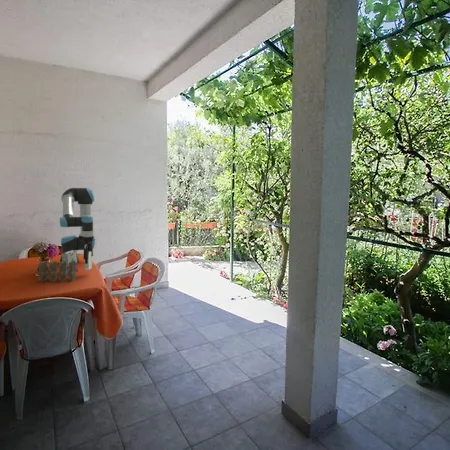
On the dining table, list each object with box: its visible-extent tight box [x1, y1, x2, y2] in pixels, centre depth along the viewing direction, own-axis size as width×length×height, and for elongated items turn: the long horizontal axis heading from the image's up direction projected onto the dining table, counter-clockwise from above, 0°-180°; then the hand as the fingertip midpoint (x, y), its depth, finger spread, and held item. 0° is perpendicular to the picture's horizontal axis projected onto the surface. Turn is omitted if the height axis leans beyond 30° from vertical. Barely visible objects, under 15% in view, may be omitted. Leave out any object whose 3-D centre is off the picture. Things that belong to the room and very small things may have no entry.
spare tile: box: [84, 251, 93, 271], centre depth 235 cm, size 2×7×13 cm, turn 7°
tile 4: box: [68, 261, 77, 282], centre depth 222 cm, size 2×7×13 cm, turn 7°
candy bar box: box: [61, 250, 79, 276], centre depth 240 cm, size 11×5×16 cm, turn 168°
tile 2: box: [48, 260, 58, 283], centre depth 221 cm, size 2×7×13 cm, turn 7°
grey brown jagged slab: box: [58, 261, 68, 282], centre depth 222 cm, size 2×7×13 cm, turn 7°
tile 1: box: [38, 260, 49, 283], centre depth 220 cm, size 2×7×13 cm, turn 6°
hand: (88, 266), depth 235 cm, fingers closed on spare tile, 7 cm apart
